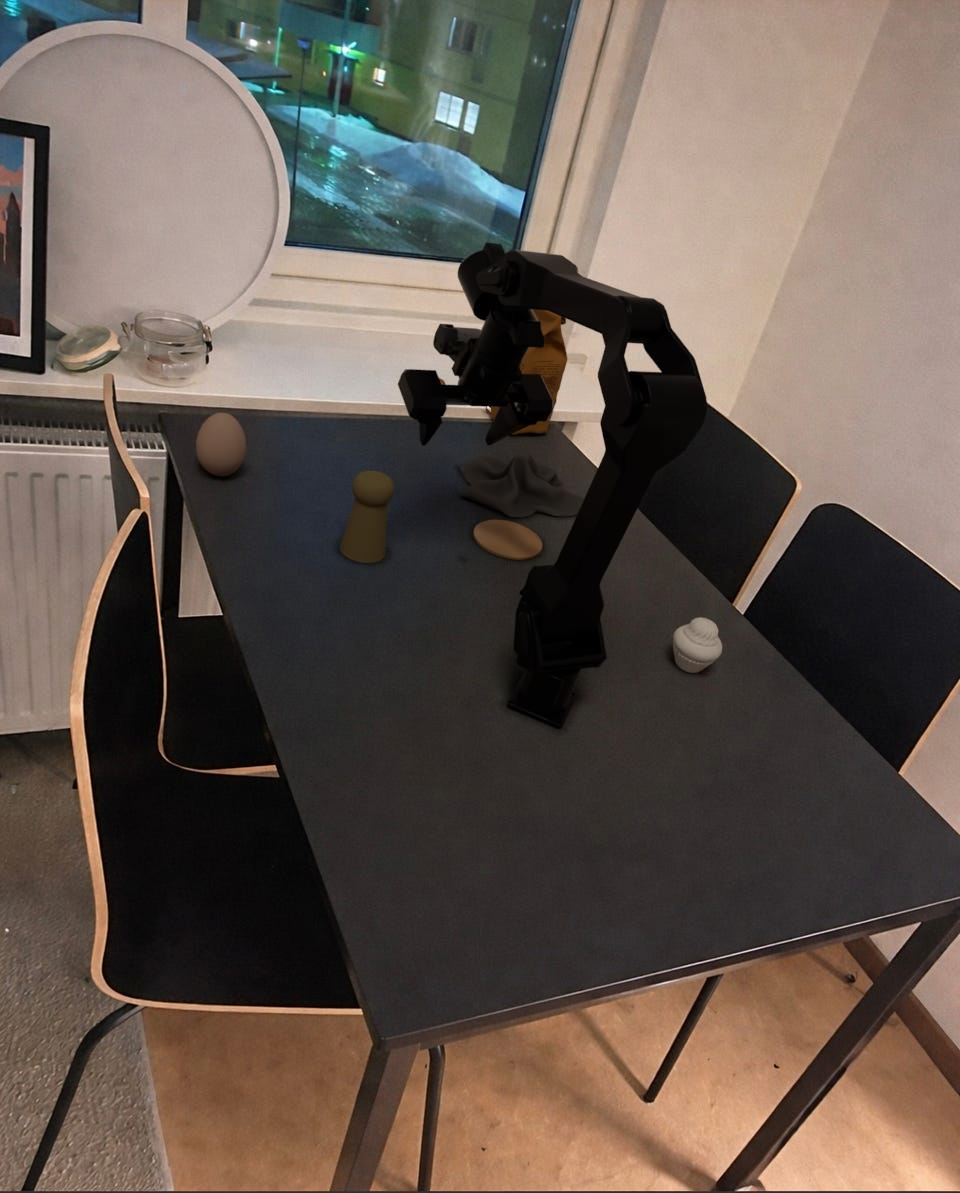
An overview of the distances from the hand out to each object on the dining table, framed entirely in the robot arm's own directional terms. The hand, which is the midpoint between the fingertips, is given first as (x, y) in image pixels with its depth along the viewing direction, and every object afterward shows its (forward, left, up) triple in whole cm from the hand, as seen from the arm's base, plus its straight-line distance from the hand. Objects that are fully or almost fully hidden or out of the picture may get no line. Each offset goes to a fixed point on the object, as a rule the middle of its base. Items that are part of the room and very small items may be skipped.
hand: (455, 442), depth 115 cm
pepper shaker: (-7, +7, -16) cm, 19 cm away
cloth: (+25, -5, -16) cm, 30 cm away
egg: (-3, +32, -16) cm, 36 cm away
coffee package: (+50, +5, -16) cm, 52 cm away
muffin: (-4, -37, -16) cm, 40 cm away
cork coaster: (+9, -8, -16) cm, 20 cm away
